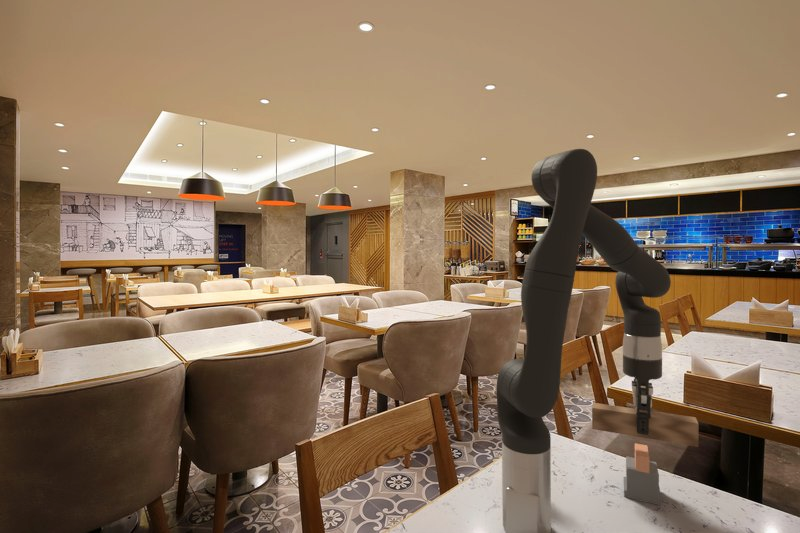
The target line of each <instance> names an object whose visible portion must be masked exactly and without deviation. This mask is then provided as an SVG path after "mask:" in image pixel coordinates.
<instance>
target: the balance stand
mask: <svg viewBox="0 0 800 533" xmlns="http://www.w3.org/2000/svg"><path fill="white" fill-rule="evenodd" d="M623 497H624V498H628V499H632V500H637V501H641V502H645V503H649V504H652V505H653V504H654V505H658V506H662V505H663V504H662V501H663V500H662V495H661V490H660V474H659V470H658V465H657V461H651V460H650V454H649V448H648V445H647V444H642V443H641V444H640V443H636V442H635V443H634V457H631V456H625V476H623Z"/></svg>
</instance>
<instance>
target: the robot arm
mask: <svg viewBox="0 0 800 533" xmlns="http://www.w3.org/2000/svg"><path fill="white" fill-rule="evenodd" d="M597 179H598V165H597V161H596V159H595V157H594V155H593V153H591V152H590V151H589V150H588V149H584V148H574V149H570V150H566V151H562V152H559V153H556V154H553V155H552V154H551V155H549V156H547V157H544V158H542V159H540V160H538V161H537V162H536V163H535V165H534V166H533V168H532V172H531V184H532V187H533V189H534V191H535V192H536V194H537V195H538V196H539V197H540V198H541V199H542V200H543V201H544V202H545V203H546V204H548V205H549V206H550V207H551V208H552V209H553V210H552V215H551V217H550V221H549V223H548V225H547V226H546V228H545V231H544V232H543V233H542V235H541V236H540V238H539V240H537V242H536V244H535V246H534V247H533V248H532V250H531V252H530V254H529V256H528V258H527V260H526V263H525V267H524V273H523V278H522V284H521V288H520V289H521V291H520V301H521V310H522V315H523V319H524V323H525V324H524V325H525V333H526V341H525V342H526V344H525V350H524V354H523V355H524V357H523V359H522V358H514V359H511V360H508V361H507V362H505V363H504V364H503V365H502V366H501V368H500V369H499V372H498V374H497V379H496V406H497V407H496V410H497V422H498V425H499V429H500V432H501V433H502V435H501V463H502V464H501V480H502V482H501V483H502V487H501V488H502V489H501V491H502V494H501V495H502V503H501V504H502V526H503V529H504V530H505V533H552V504H551V503H552V499H551V498H552V496H551V495H552V487H551V484H552V482H551V481H552V480H551V478H552V477H551V476H552V474H551V470H552V469H551V466H552V465H551V464H552V463H551V460H552V459H551V457H552V456H551V453H552V452H551V450H552V448H551V447H552V445H551V440H552V438H551V433H550V432H551V431H549V428H548V426H547V425H546V423H545V421H544V419H543V418H544V417H546V416H547V415H549V414H550V413H551V411H552V410H553V409H554V408H555V405H556V403H557V401H558V397H559V394H560V387H561V386H560V385H561V372H562V355H563V346H564V338H565V332H566V326H567V319H568V313H569V307H570V302H571V298H572V294H573V288H574V283H575V282H574V281H575V276H576V268H577V262H578V257H579V252H580V247H581V243H582V239H583V238H582V237H584V238H585V239H586V240H587V241H588V242H589V243H590V245H591V246H592V247H593V248H594V250H595V251H596V252H597V253H598V255H599V256H600V257H601V258H602V260H603V261H604V262H605V264H606V265H607V266H608V267H609V268H611V269H612V270H613V271H616V272H617V273H616V276H615V280H614V281H615V290H616V293H617V296H618V300H619V303H620V306H621V311H622V314H623V316H624V317H623V339H622V373H623V374H624V375H626V376H628V377H630V378H633V380H631V390H632V400H633V405H634V409H636V417H637V433H638V434H643V435H648V434H649V419H650V417H651V415H650V411H651V409H652V407H653V395H654V386H653V383H652V382H650V381H651V380H653V381H654V380H659V379H661V378H662V377H663V344H662V335H661V334H662V331H661V330H662V316H661V312H660V311H659V310H658V309H656V308H654V307H651V306H650V305H647V304H646V303H645V301H644V298H652V299H654V298H657V299H658V298H661V297H663V296H665V295H667V293H668V292H669V291H670V288H671V284H672V283H671V282H672V281H671V276H670V274H669V271H668V270H667V269H666V268H665V266H664V265H663V264H662V263H660V261H658V260H657V259H656V258H654V257H653V256H652V255H650V254H649V253H648V252H646V251H645V250H643V249H642V248H641V247H639V245H638V243H636V241H635V240H634V238H633V237H632V235H631V234H630V233H629V232H628V230H627V229H626V228H625V227H624V226H623V225H622V224H621V223H619V222H618V221H617V220H615V219H614V218H612V216H610V215H608V214H606V213H604V212H603V211H601V210H600V209H598V208H597V207H595V206H594V205H593V204H591V203H592V200H593V197H594V194H595V193H594V192H595V190H596V185H597V181H598V180H597ZM640 410H647V413H646V412H640Z"/></svg>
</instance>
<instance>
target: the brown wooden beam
mask: <svg viewBox="0 0 800 533" xmlns="http://www.w3.org/2000/svg"><path fill="white" fill-rule="evenodd" d="M591 410H592V411H591V414H592V416H591V418H592V419H591V421H592V422H591V425H592V426H591V428H592V430H596V431H597V430H598V431H602V432H609V433H614V434H620V435H624V436H625V435H627V436H632V437H637V438H643V439H649V440H654V441H661V442H666V443H672V444H673V443H674V444H678V445H682V446H683V445H684V446H691V447H697V448H699V431H700V430H699V426H700V425H699V421H698V420H697V417H695V416H688V415H681V414H676V413H667V412H661V411H654V410H650V415H651V417H650V419H649V434H648V435H643V434H638V433H637V417H636V409H635V407H633V408H632V407H626V406H620V405H612V404H605V403H597V402H592V408H591ZM640 412H646V413H647V410H640Z"/></svg>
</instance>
